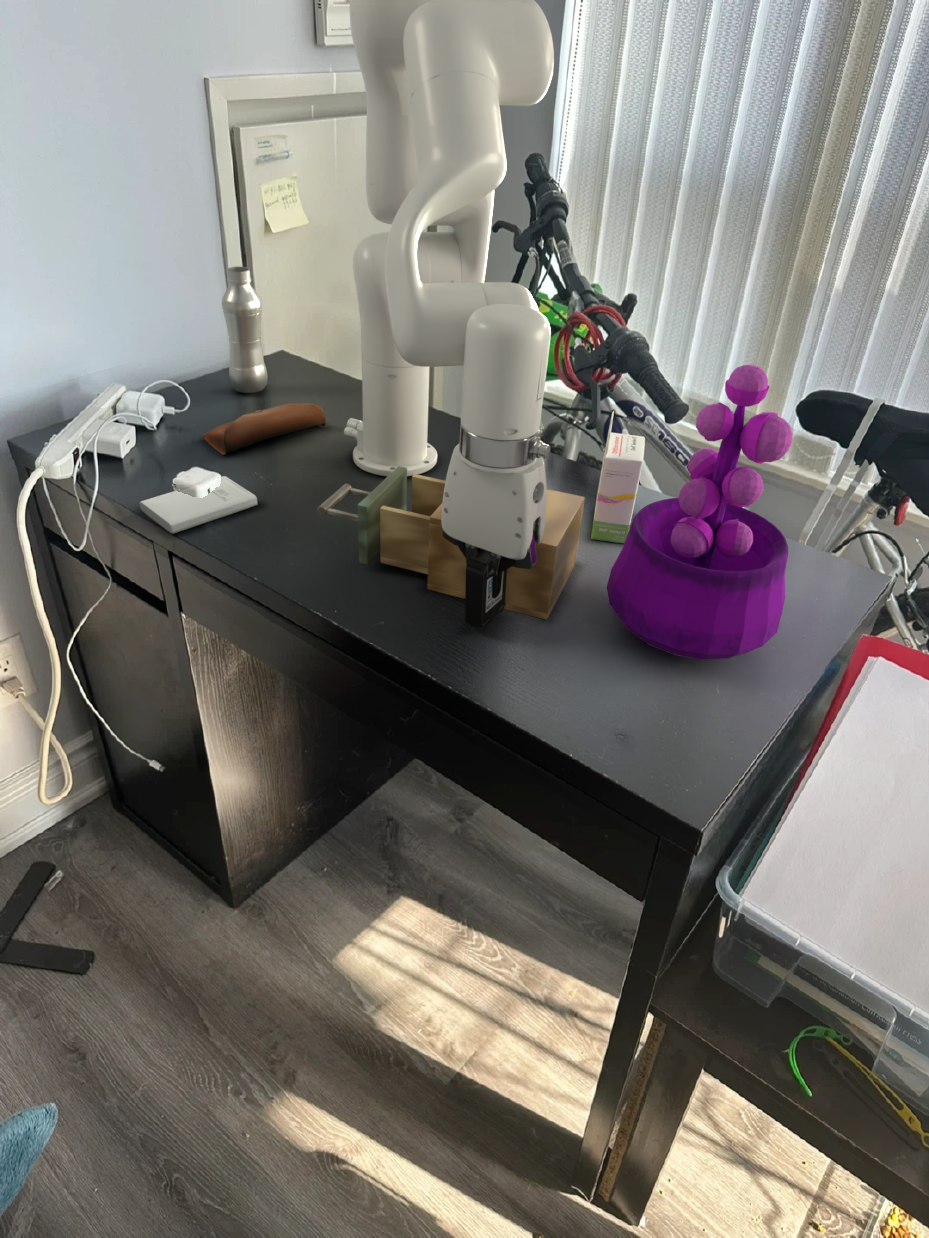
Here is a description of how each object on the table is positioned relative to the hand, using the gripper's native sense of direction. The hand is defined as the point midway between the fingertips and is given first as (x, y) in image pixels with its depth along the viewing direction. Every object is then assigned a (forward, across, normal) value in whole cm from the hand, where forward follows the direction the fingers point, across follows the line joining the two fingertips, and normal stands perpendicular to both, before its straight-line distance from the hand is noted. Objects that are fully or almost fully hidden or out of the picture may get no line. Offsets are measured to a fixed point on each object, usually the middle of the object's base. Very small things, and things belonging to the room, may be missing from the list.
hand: (484, 597), depth 91 cm
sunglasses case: (+5, +53, -24) cm, 58 cm away
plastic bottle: (+5, +68, -37) cm, 77 cm away
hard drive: (+4, +44, -1) cm, 44 cm away
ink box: (+4, -4, -29) cm, 29 cm away
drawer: (+3, +15, -7) cm, 17 cm away
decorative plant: (+3, -20, -12) cm, 23 cm away
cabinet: (+4, +2, -10) cm, 10 cm away
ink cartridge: (+2, 0, 0) cm, 2 cm away
